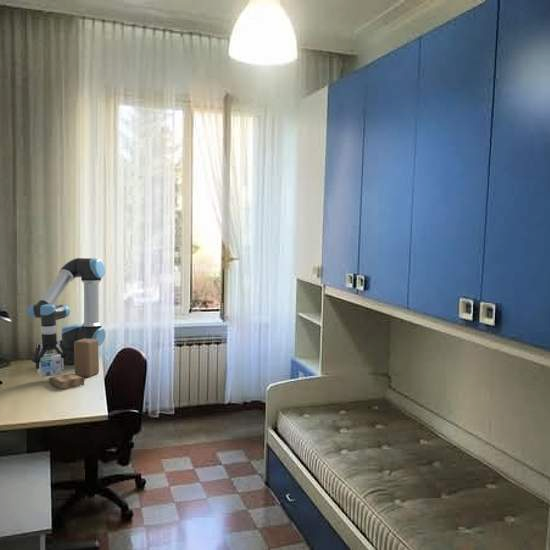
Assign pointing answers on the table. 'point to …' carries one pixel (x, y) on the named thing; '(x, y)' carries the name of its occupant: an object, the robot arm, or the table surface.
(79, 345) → the wooden block
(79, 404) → the table surface
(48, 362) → the light bulb box
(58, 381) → the brown open tray
